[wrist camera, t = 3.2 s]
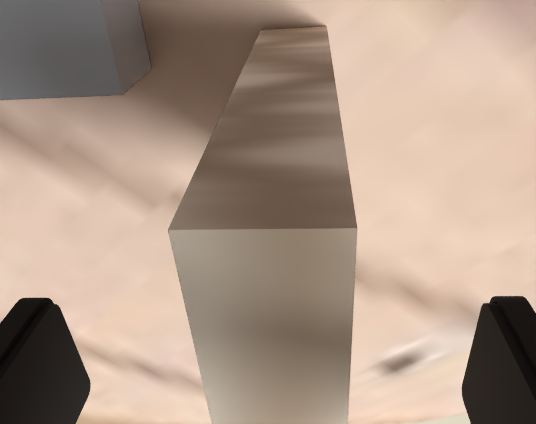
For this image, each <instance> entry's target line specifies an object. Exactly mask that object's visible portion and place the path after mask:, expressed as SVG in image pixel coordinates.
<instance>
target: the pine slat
mask: <svg viewBox="0 0 536 424" xmlns="http://www.w3.org/2000/svg"><path fill="white" fill-rule="evenodd" d="M168 233H169V237H170V241H171V246H172V250H173V255H174V259H175V263H176V268H177V272H178V277H179V281H180V285H181V290H182V294H183V299H184V303H185V307H186V312H187V316H188V321H189V325H190V329H191V334H192V338H193V343H194V347H195V351H196V356H197V360H198V365H199V369H200V373H201V378H202V382H203V387H204V391H205V395H206V400H207V404H208V409H209V413H210V417H211V422H212V424H348V406H349V386H350V365H351V345H352V325H353V304H354V284H355V264H356V243H357V223H356V217H355V210H354V204H353V197H352V190H351V184H350V177H349V171H348V164H347V157H346V151H345V144H344V138H343V131H342V124H341V118H340V111H339V105H338V98H337V91H336V85H335V78H334V72H333V65H332V58H331V52H330V45H329V39H328V32H327V26H323V27H305V28H286V29H268V30H261V31H260V33H259V35H258V37H257V39H256V41H255V43H254V46H253V48H252V50H251V52H250V54H249V56H248V59H247V61H246V63H245V65H244V67H243V69H242V71H241V74H240V76H239V78H238V80H237V82H236V84H235V87H234V89H233V91H232V93H231V95H230V97H229V99H228V102H227V104H226V106H225V108H224V110H223V112H222V115H221V117H220V119H219V121H218V123H217V125H216V127H215V130H214V132H213V134H212V136H211V138H210V140H209V143H208V145H207V147H206V149H205V151H204V153H203V155H202V158H201V160H200V162H199V164H198V166H197V168H196V171H195V173H194V175H193V177H192V179H191V181H190V183H189V186H188V188H187V190H186V192H185V194H184V196H183V199H182V201H181V203H180V205H179V207H178V209H177V211H176V214H175V216H174V218H173V220H172V222H171V224H170V227H169V229H168Z"/></svg>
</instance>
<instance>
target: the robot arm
mask: <svg viewBox="0 0 536 424" xmlns="http://www.w3.org/2000/svg"><path fill="white" fill-rule="evenodd" d="M89 392H90V379H89V377H88V374H87V372H86V370H85V367H84V365H83V362H82V360H81V357H80V355H79V353H78V350H77V348H76V345H75V343H74V341H73V338H72V336H71V333H70V331H69V329H68V326H67V324H66V321H65V319H64V316H63V314H62V312H61V309H60V307H59V306H58V305H57V304H54V303H53V301H52V300H51V299H49V298H22V299H20V300H19V301H18V302H17V303H16V304H15V305H14V307H13V308H12V309H11V310H10V312H9V313H8V314H7V316H6V317H5V318H4V319H3V321H2V322H1V323H0V424H76V422H77V419H78V417H79V415H80V413H81V411H82V409H83V406H84V404H85V402H86V400H87V398H88V395H89ZM462 396H463V401H464V405H465V407H466V410H467V413H468V416H469V419H470V422H471V424H536V313H535V312H534V310H533V308H532V307H531V305H530V303H529V302H528V301H527V299H526V298H525V297H523V296H495V297H492V298H491V300H490V303H484V304H483V305H482V307H481V311H480V315H479V319H478V323H477V327H476V331H475V335H474V339H473V343H472V347H471V351H470V355H469V359H468V364H467V368H466V372H465V376H464V380H463V384H462Z"/></svg>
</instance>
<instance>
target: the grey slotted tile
mask: <svg viewBox="0 0 536 424" xmlns="http://www.w3.org/2000/svg"><path fill="white" fill-rule="evenodd" d="M149 70H151V64H150V59H149V54H148V49H147V44H146V39H145V34H144V30H143V25H142V20H141V15H140V10H139V5H138V0H0V100H14V99H38V98H62V97H86V96H110V95H123V94H124V93H126V92H127V91H128V90H129V89H130V88H131V87H132V86H133V85H134V84H135V83H136V82H137V81H139V80H140V79H141V78H142V77H143V76H144V75H145V74H146V73H147V72H148V71H149Z"/></svg>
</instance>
